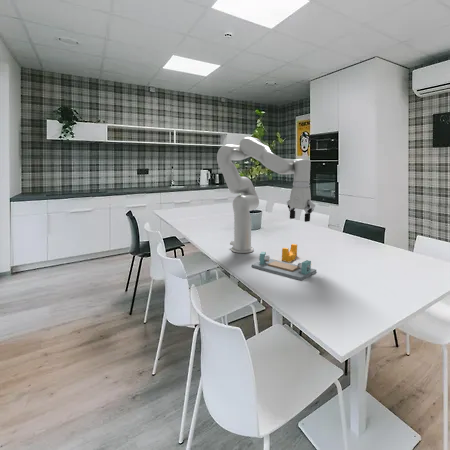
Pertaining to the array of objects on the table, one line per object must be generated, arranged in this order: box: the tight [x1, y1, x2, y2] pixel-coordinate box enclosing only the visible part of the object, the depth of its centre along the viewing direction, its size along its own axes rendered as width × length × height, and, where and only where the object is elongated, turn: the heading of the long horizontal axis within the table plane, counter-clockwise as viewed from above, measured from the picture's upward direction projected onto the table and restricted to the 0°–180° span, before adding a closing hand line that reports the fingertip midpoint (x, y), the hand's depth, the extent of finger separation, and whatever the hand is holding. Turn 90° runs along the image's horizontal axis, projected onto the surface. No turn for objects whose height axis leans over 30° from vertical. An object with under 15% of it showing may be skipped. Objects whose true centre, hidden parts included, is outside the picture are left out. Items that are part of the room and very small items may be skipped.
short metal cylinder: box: [258, 254, 271, 262], centre depth 148 cm, size 4×3×3 cm, turn 73°
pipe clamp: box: [281, 243, 298, 263], centre depth 159 cm, size 12×4×6 cm, turn 142°
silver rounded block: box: [296, 262, 310, 271], centre depth 135 cm, size 4×3×3 cm, turn 48°
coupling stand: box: [251, 251, 317, 281], centre depth 142 cm, size 26×14×6 cm, turn 48°
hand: (299, 220), depth 152 cm, fingers open, 9 cm apart
